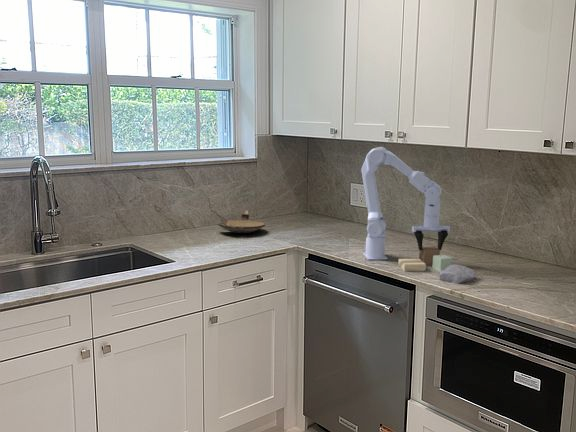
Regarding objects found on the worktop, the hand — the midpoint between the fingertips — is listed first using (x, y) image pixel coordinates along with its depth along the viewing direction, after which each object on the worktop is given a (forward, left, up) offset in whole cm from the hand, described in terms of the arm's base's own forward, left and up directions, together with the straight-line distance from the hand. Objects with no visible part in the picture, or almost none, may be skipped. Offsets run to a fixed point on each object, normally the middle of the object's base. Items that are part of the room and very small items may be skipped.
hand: (429, 249), depth 220 cm
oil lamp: (-60, -71, -6) cm, 93 cm away
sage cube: (+9, +2, -6) cm, 11 cm away
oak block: (+7, -9, -6) cm, 13 cm away
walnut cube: (0, 0, -6) cm, 6 cm away
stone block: (+21, +3, -6) cm, 22 cm away
